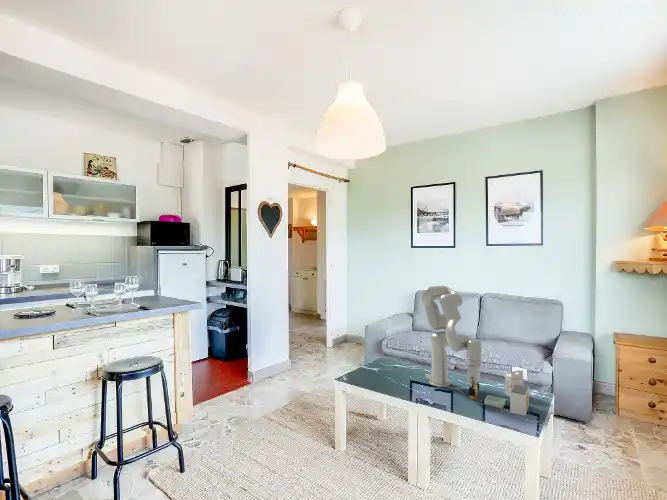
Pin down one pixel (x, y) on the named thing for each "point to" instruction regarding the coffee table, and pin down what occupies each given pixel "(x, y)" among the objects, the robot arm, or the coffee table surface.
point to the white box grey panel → (519, 399)
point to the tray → (494, 401)
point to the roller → (475, 393)
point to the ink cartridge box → (513, 380)
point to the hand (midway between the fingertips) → (474, 393)
